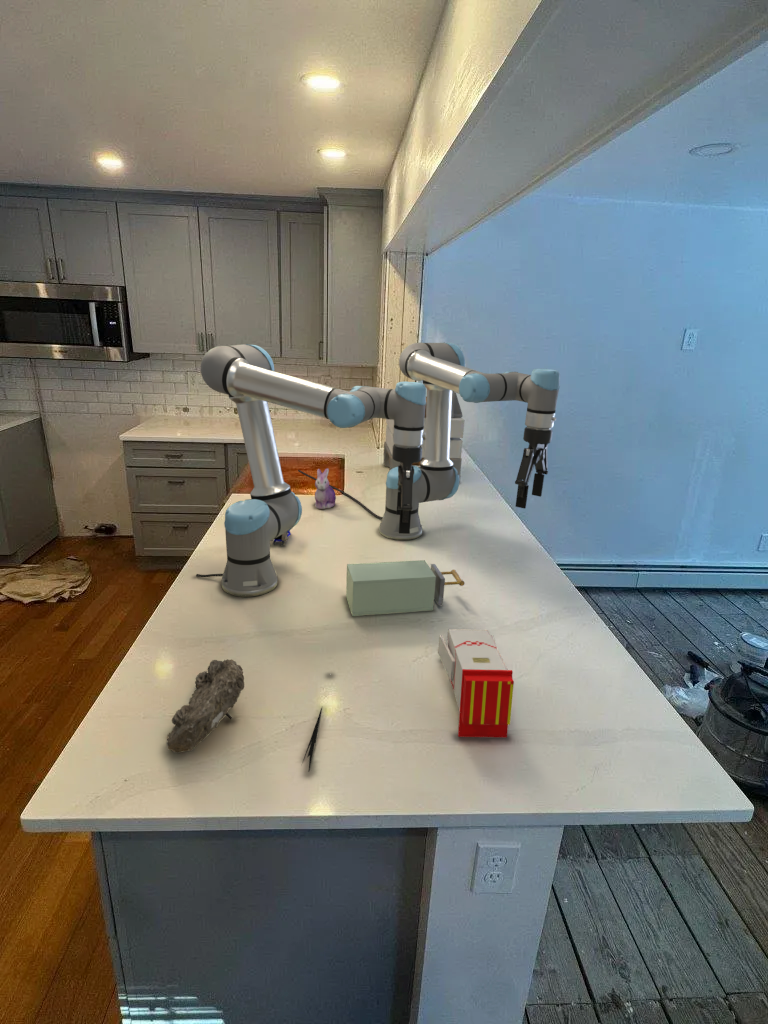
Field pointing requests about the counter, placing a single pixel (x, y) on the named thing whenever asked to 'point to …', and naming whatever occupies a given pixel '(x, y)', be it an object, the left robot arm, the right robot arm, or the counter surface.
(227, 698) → the fossil
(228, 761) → the counter surface
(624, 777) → the counter surface
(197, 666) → the counter surface
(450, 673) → the toy
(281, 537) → the figurine character
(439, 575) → the drawer
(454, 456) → the transformer
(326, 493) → the figurine
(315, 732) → the feather
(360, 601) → the cabinet
